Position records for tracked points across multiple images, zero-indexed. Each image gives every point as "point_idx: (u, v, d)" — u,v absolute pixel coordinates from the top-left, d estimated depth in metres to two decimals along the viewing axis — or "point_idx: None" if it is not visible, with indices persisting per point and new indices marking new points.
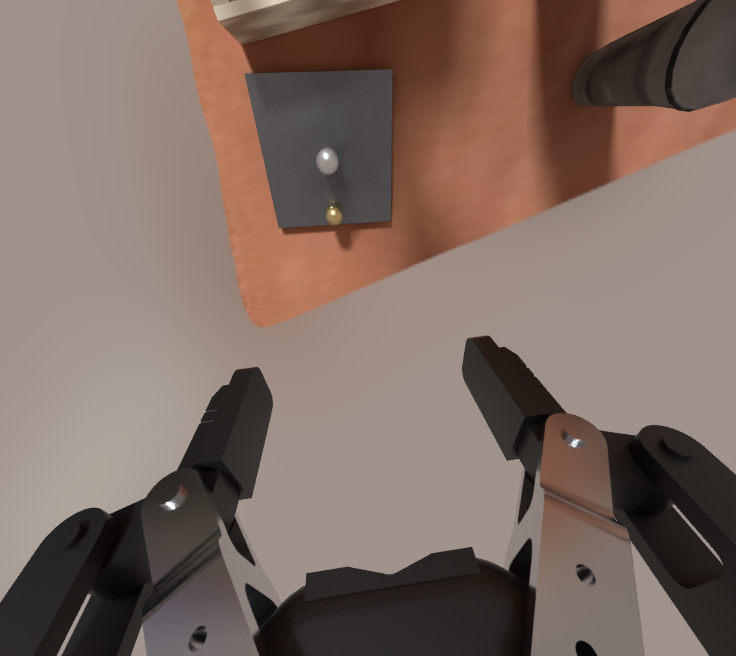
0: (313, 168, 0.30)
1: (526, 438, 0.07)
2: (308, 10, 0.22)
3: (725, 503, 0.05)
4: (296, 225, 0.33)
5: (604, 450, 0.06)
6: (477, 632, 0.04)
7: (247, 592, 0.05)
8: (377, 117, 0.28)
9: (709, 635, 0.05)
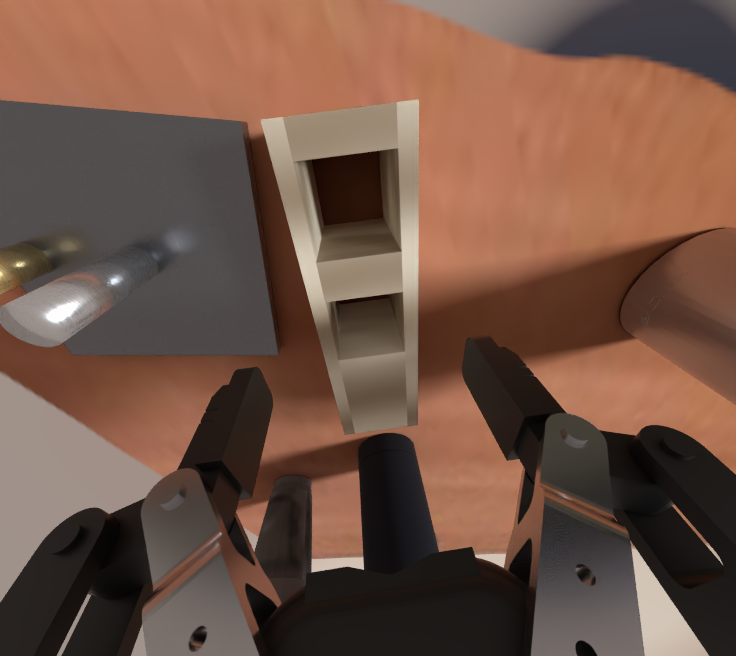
0: (108, 230, 0.14)
1: (526, 438, 0.07)
2: None
3: (725, 503, 0.05)
4: None
5: (604, 450, 0.06)
6: (477, 632, 0.04)
7: (247, 592, 0.05)
8: (222, 338, 0.19)
9: (709, 635, 0.05)
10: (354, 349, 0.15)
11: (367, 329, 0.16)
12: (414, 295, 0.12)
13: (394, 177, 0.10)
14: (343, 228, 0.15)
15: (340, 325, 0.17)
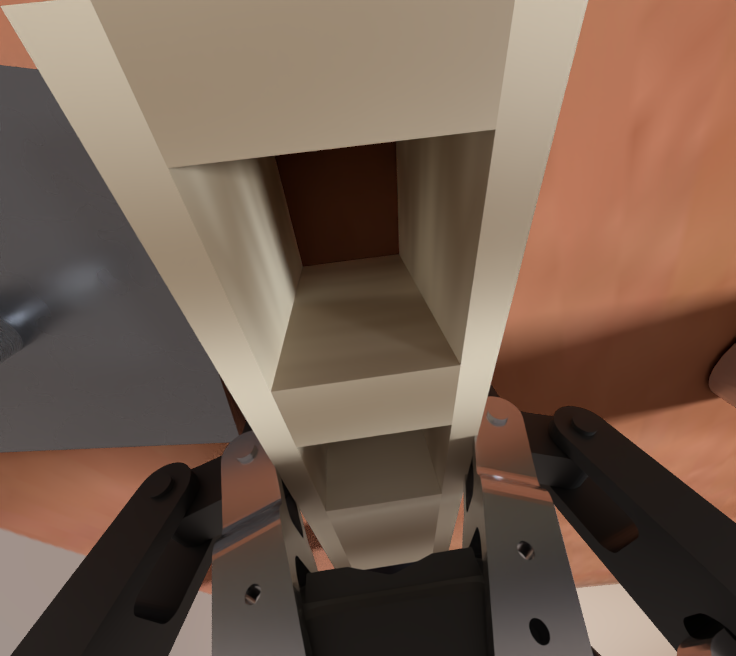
0: None
1: None
2: None
3: (627, 469, 0.06)
4: None
5: (520, 428, 0.07)
6: (477, 632, 0.04)
7: (295, 563, 0.05)
8: (154, 426, 0.13)
9: (637, 591, 0.06)
10: (353, 482, 0.09)
11: None
12: (472, 428, 0.06)
13: (452, 205, 0.04)
14: (334, 275, 0.09)
15: None
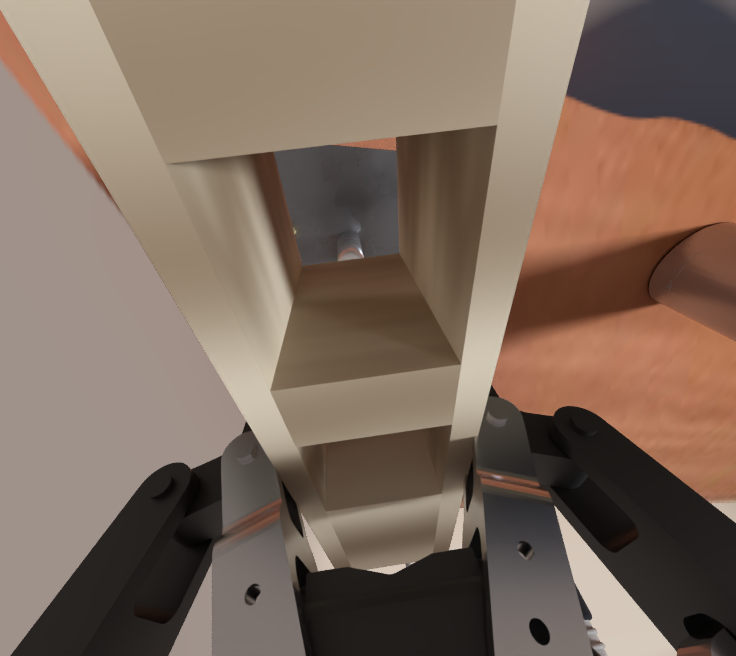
0: (339, 221, 0.22)
1: None
2: None
3: (627, 469, 0.06)
4: None
5: (519, 428, 0.07)
6: (477, 632, 0.04)
7: (295, 563, 0.05)
8: None
9: (637, 591, 0.06)
10: (353, 482, 0.09)
11: None
12: (473, 428, 0.06)
13: (453, 202, 0.04)
14: (334, 275, 0.09)
15: None
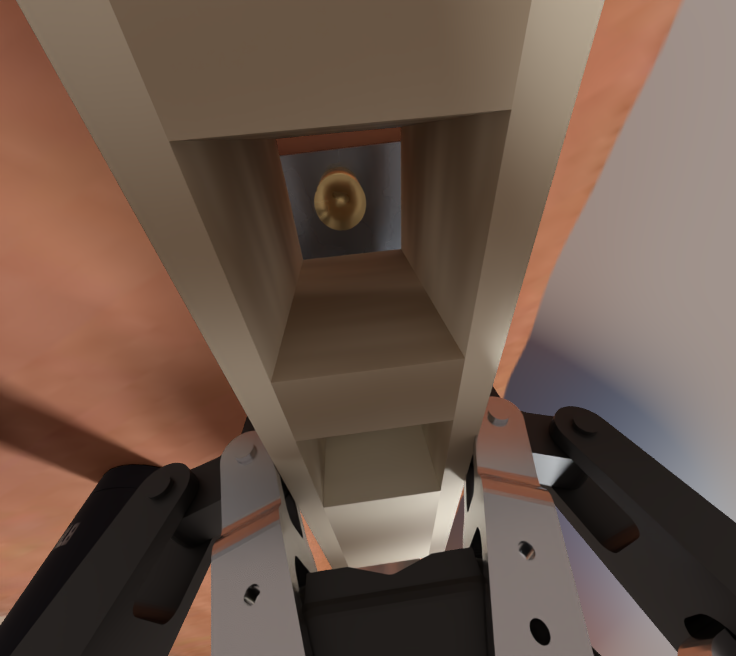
0: None
1: None
2: None
3: (628, 469, 0.06)
4: None
5: (520, 428, 0.07)
6: (477, 632, 0.04)
7: (294, 563, 0.05)
8: None
9: (638, 591, 0.06)
10: (351, 478, 0.09)
11: None
12: (474, 424, 0.06)
13: (461, 193, 0.04)
14: (335, 269, 0.09)
15: None
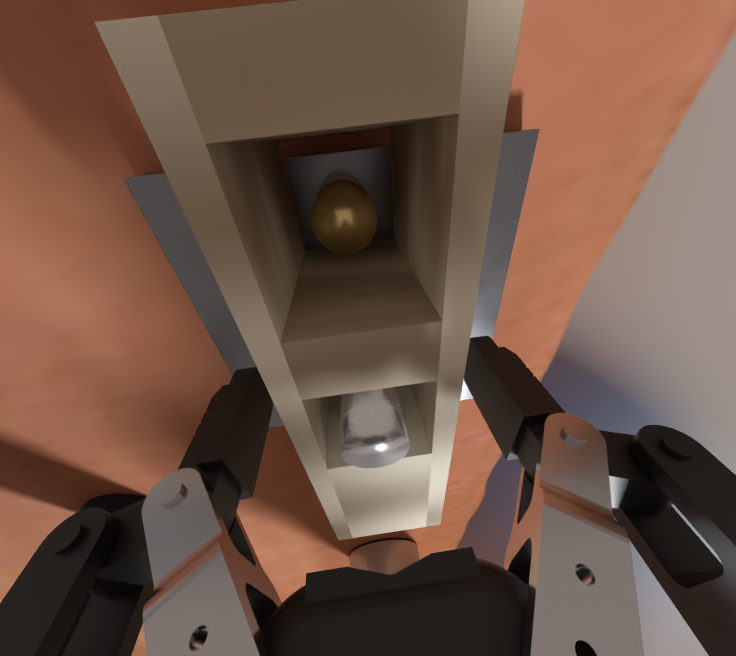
0: None
1: (525, 438, 0.07)
2: None
3: (724, 503, 0.05)
4: None
5: (603, 450, 0.06)
6: (477, 632, 0.04)
7: (247, 592, 0.05)
8: None
9: (708, 635, 0.05)
10: None
11: None
12: (456, 384, 0.07)
13: (433, 181, 0.05)
14: (334, 257, 0.10)
15: None
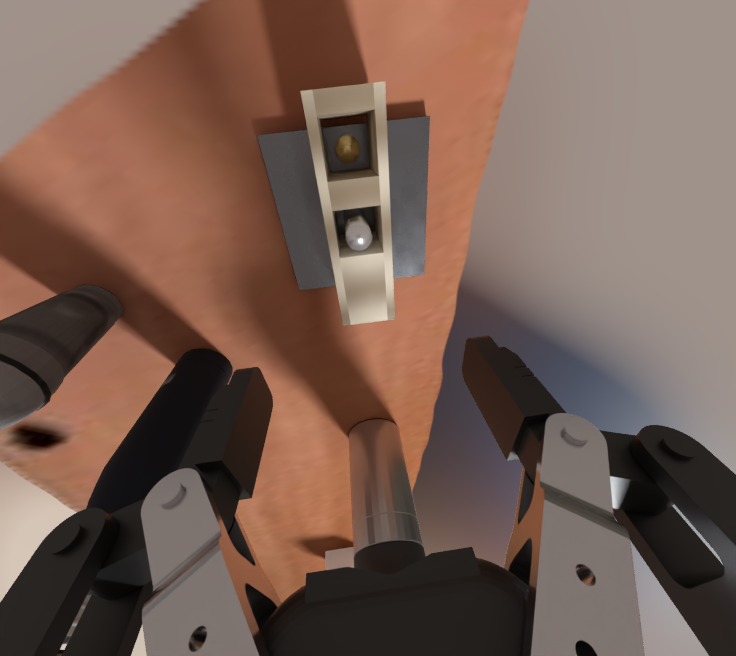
0: None
1: (526, 438, 0.07)
2: None
3: (725, 503, 0.05)
4: (403, 121, 0.22)
5: (604, 450, 0.06)
6: (477, 632, 0.04)
7: (247, 592, 0.05)
8: (305, 257, 0.27)
9: (709, 635, 0.05)
10: (350, 253, 0.22)
11: None
12: (388, 208, 0.20)
13: (374, 129, 0.18)
14: (342, 172, 0.22)
15: (340, 244, 0.24)
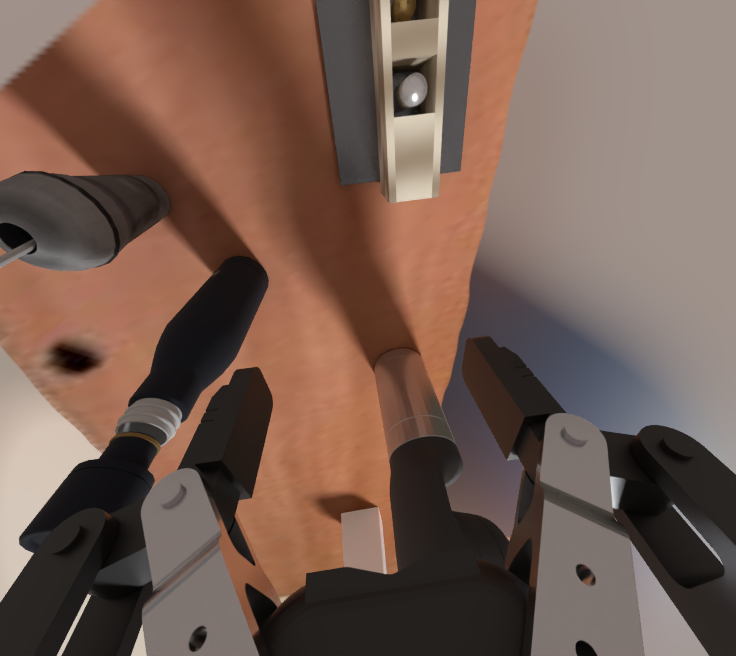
0: None
1: (526, 438, 0.07)
2: (378, 67, 0.23)
3: (725, 503, 0.05)
4: None
5: (604, 450, 0.06)
6: (477, 632, 0.04)
7: (247, 592, 0.05)
8: (350, 146, 0.29)
9: (709, 635, 0.05)
10: None
11: None
12: (443, 57, 0.21)
13: None
14: None
15: None
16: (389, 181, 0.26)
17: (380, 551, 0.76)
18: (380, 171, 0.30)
